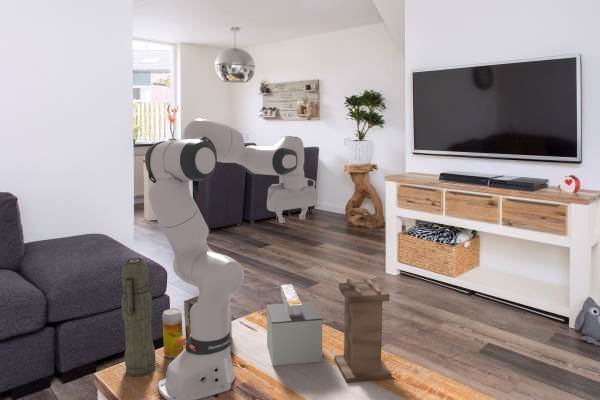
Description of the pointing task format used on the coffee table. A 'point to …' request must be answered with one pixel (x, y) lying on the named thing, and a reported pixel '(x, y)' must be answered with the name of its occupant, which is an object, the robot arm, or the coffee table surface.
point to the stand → (362, 332)
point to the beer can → (172, 332)
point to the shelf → (294, 335)
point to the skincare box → (230, 321)
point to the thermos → (137, 318)
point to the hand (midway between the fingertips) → (292, 220)
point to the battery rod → (291, 301)
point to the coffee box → (188, 314)
